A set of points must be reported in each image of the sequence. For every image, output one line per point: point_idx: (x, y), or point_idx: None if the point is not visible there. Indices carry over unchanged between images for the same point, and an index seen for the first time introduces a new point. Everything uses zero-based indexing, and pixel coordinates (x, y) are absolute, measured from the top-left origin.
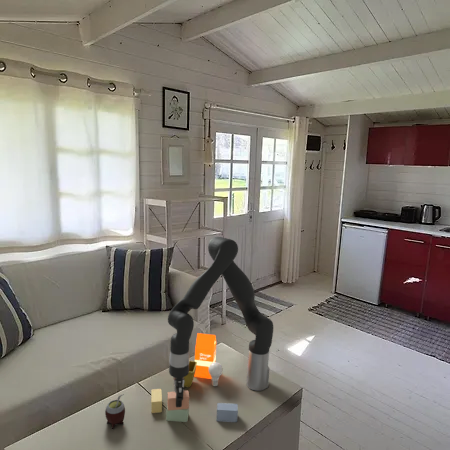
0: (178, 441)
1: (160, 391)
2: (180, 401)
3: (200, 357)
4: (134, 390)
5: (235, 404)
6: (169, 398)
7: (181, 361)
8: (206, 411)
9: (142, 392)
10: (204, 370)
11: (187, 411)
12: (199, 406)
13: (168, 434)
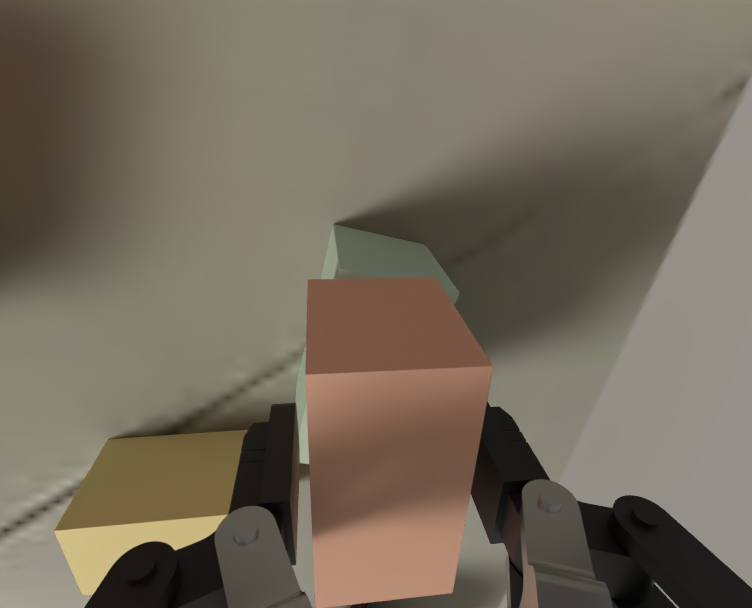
0: (602, 319)
1: (107, 532)
2: (536, 467)
3: None
4: (16, 598)
5: None
6: (451, 580)
7: None
8: (302, 7)
9: (32, 555)
10: None
11: (454, 286)
12: (207, 85)
13: (516, 379)
